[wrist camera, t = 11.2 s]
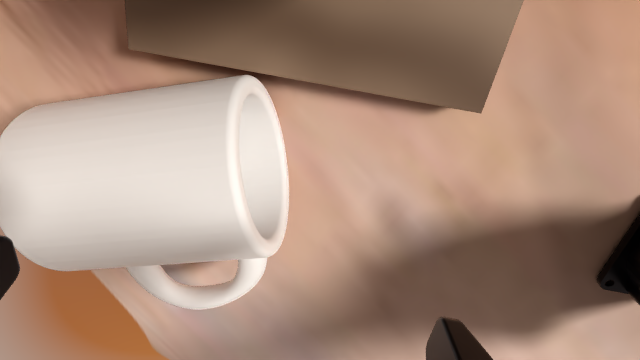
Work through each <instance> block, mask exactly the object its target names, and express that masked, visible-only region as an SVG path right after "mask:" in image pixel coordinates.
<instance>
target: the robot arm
mask: <svg viewBox="0 0 640 360" xmlns="http://www.w3.org/2000/svg"><path fill="white" fill-rule="evenodd" d="M19 271H20V266H19V262H18V259H17V255H16V252H15V248H14V244H13V242H12V240H11V239H10V238H8V237H6V236H1V235H0V300H1V298H2V297H3V296H4V294H5V293H6V292H7V290H8V289H9V288H10V286H11V285H12V284H13V283H14V281H15V280H16V278H17V276H18V274H19ZM596 280H597V283H598V284H599V285H600V286H601V287H602V289H605V290H610V291H616V292H621V293H627V294H630V295H631V296H632V297H633V299H634V300H635V301H636V302H637V303H638V304H639V305H640V214H639V216H638V217H637V219H636V220H635V222H634V223H633V225H632V226H631V228H630V229H629V231H628V232H627V234H626V235H625V237H624V238H623V240H622V241H621V243H620V244H619V246H618V247H617V249H616V250H615V252H614V253H613V255H612V256H611V258H610V259H609V261H608V262H607V264H606V265H605V267H604V268H603V270H602V271H601V272H600V274H599V275H598V277H597V279H596ZM608 280H609V281H608ZM606 281H607V282H606ZM426 360H493V359H492V358H491V356H490V355H489V354H488V353H487V352H486V350H485V349H484V348H483V347H482V346H481V344H480V343H479V342H478V341H477V340H476V338H475V337H474V336H473V335H472V334H471V333H470V331H469V330H468V329H467V328H466V327H465V325H464V324H463V323H462V322H461V321H459V320H457V319H452V318H446V317H440V318H439V319H438V320H437V321H436V324H435V326H434V328H433V330H432V333H431V335H430V337H429V340H428V342H427V346H426Z"/></svg>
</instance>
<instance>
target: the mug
mask: <svg viewBox="0 0 640 360" xmlns="http://www.w3.org/2000/svg"><path fill="white" fill-rule="evenodd" d="M288 209H289V179H288V167H287V158H286V151H285V145H284V140H283V135H282V131H281V126H280V123H279V119H278V116H277V113H276V110H275V107H274V104H273V102H272V100H271V98H270V96H269V94H268V92H267V90H266V88H265V87H264V86H263V84H262V83H261V82H260V81H259V80H258V79H256V78H255V77H253V76H250V75H241V76H234V77H227V78H220V79H213V80H206V81H199V82H193V83H186V84H179V85H172V86H165V87H158V88H151V89H144V90H138V91H131V92H124V93H117V94H110V95H103V96H96V97H89V98H83V99H76V100H69V101H62V102H55V103H48V104H43V105H39V106H36V107H33V108H31V109H28V110H26V111H25V112H23V113H22V114H20V115H19V116H17V117H16V118H15V119H14V120H13V121H12V122H11V123H10V124H9V125H8V126H7V127H6V129H5V130H4V131H3V133H2V134H1V136H0V227H1V229H2V231H3V232H4V234H5V235H6V237H8V238H10V239H11V240H12V242H13V244H14V247H15V248H16V249H17V250H18V251H19V252H20V253H21V254H22V255H24V256H25V257H26V258H28V259H29V260H31V261H32V262H34V263H36V264H38V265H41V266H42V267H45V268H48V269H53V270H57V271H77V270H93V269H108V268H122V267H125V268H126V269H127V270H128V272H129V273H130V274H131V276H132V277H133V278H134V279H135V280H136V281H137V283H138V284H140V285H141V286H142V287H143V288H144V289H145V290H146V291H147V292H149V293H150V294H152V295H153V296H155V297H156V298H158V299H160V300H162V301H164V302H166V303H169V304H171V305H174V306H178V307H181V308H186V309H194V310H202V309H210V308H215V307H219V306H222V305H225V304H227V303H230V302H232V301H234V300H236V299H238V298H240V297H241V296H243V295H244V294H246V293H247V292H249V291H250V290H251V289H252V288H253V287H254V286H255V285H256V284H257V283H258V282H259V280H260V279H261V277H262V275H263V273H264V271H265V268H266V264H267V257H270V256H272V255H273V254H275V253H276V252H277V250H278V249H279V247H280V246H281V244H282V241H283V238H284V235H285V231H286V226H287V220H288ZM225 260H238V269H237V273H236V275H235V277H234V279H233V280H231V281H228V282H225V283H221V284H216V285H208V286H189V285H184V284H181V283H178V282H176V281H175V280H173V279H172V278H171V277H169V276H168V275H167V273H166V272H165V271H164V270H163V269H162V267H161V266H160V265H166V264H181V263H196V262H210V261H225Z"/></svg>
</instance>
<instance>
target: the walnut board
mask: <svg viewBox="0 0 640 360" xmlns="http://www.w3.org/2000/svg"><path fill="white" fill-rule="evenodd" d="M523 1H524V0H125V10H126V23H127V36H128V48H129V49H130V50H136V51H141V52H147V53H152V54H158V55H163V56H169V57H174V58H180V59H185V60H191V61H196V62H202V63H207V64H213V65H218V66H223V67H229V68H234V69H240V70H245V71H251V72H256V73H262V74H267V75H273V76H278V77H284V78H289V79H295V80H300V81H306V82H311V83H317V84H322V85H328V86H333V87H339V88H344V89H350V90H355V91H361V92H366V93H372V94H377V95H383V96H388V97H394V98H399V99H405V100H410V101H416V102H421V103H427V104H432V105H438V106H443V107H449V108H454V109H460V110H465V111H471V112H476V113H481V112H482V110H483V107H484V105H485V102H486V99H487V97H488V94H489V91H490V89H491V86H492V83H493V81H494V78H495V75H496V73H497V70H498V67H499V65H500V62H501V59H502V57H503V54H504V51H505V49H506V46H507V43H508V41H509V38H510V35H511V33H512V30H513V27H514V25H515V22H516V19H517V17H518V14H519V11H520V9H521V6H522V3H523Z"/></svg>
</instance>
